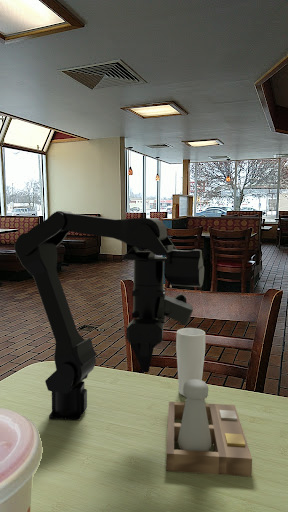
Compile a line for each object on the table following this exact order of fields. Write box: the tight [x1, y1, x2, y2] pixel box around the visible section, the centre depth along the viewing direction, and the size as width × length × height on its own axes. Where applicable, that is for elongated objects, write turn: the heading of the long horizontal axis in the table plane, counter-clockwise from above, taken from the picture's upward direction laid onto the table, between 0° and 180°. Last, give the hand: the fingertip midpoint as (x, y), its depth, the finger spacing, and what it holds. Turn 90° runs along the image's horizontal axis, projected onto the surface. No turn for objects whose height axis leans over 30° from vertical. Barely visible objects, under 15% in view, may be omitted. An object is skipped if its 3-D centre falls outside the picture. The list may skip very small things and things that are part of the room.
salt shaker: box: [177, 379, 212, 452], centre depth 65 cm, size 6×6×13 cm
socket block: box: [165, 401, 253, 478], centre depth 69 cm, size 14×18×3 cm
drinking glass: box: [175, 327, 206, 397], centre depth 89 cm, size 7×7×15 cm
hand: (147, 363), depth 73 cm, fingers open, 9 cm apart
